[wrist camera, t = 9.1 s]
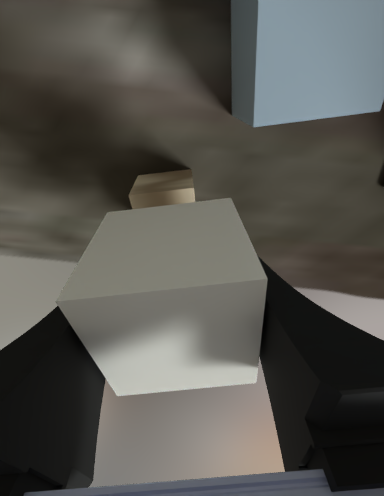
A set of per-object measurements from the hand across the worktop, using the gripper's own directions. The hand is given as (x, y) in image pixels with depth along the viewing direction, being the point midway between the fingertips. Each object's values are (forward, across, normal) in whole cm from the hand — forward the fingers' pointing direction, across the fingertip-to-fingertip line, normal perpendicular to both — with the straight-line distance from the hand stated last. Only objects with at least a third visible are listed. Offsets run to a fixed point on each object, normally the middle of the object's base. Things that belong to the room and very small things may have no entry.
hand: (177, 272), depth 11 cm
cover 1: (+1, 0, 0) cm, 1 cm away
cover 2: (+9, -7, -8) cm, 14 cm away
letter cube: (+9, +1, 0) cm, 9 cm away
